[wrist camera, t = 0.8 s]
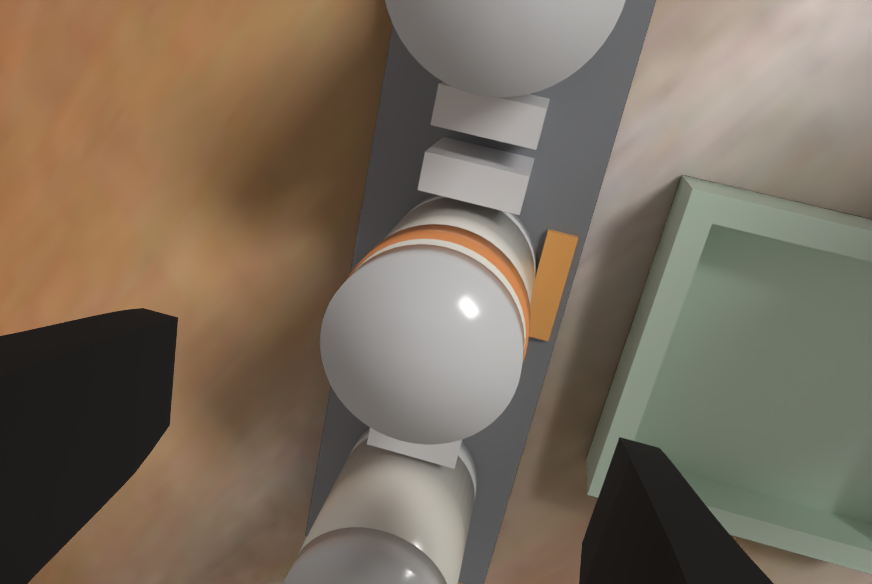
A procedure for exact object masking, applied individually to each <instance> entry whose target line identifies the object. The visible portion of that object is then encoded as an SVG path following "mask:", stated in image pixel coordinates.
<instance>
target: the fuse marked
mask: <svg viewBox="0 0 872 584" xmlns="http://www.w3.org/2000/svg"><path fill="white" fill-rule="evenodd" d="M535 274H536V254H535V249H534V245H533V242H532V239H531V236H530V234H529V232H528V230H527V229H526V227H525V225H524V224H523V222H522V221H521V220H520V218H519V217H518V216H517V215H516V214H513V213H509V212H505V211H501V210H497V209H493V208H489V207H485V206H481V205H477V204H472V203H468V202H464V201H460V200H456V199H452V198H448V197H444V196H440V195H433V196H431V197H429V198H427V199H425V200H423V201H421V202H420V203H419V204H417V205H416V206H414V207H413V208H412V209H411V210H410V211H409V212H408V213H407V214H406V215H405V216H404V217H403V219H402V220H401V221H400V222H399V223H398V224H397V225H396V226H395V227H394V228H393V230H392V231H391V232H390V233H389V234H388V235H387V236H386V237H385V238H384V239H383V240H382V241H381V242H379V243H378V244H377V245H376V246H375V247H374V248H373V249H372V250H370V251H369V253H368V254H367V255H366V256H365V257H364V258H363V259H362V260H361V261H360V262H359V263H358V264H357V266H356V267H355V268H354V269H353V271H352V272H351V273H350V275H349V276H348V278H347V280H346V281H345V282H344V283H343V285H342V286H341V287H340V288H339V289H338V291H337V292H336V293H335V295H334V296H333V298H332V300H331V301H330V303H329V305H328V307H327V310H326V312H325V315H324V317H323V322H322V326H321V333H320V353H321V358H322V364H323V367H324V370H325V373H326V376H327V378H328V380H329V383H330V385H331V387H332V389H333V390H334V392H335V393H336V395H337V396H338V398H339V399H340V400H341V402H342V403H343V404H344V405H345V407H346V408H347V409H348V410H349V411H350V412H351V413H352V414H353V415H354V416H355V417H357V418H358V419H359V420H360V421H362V422H363V423H364V424H366V425H367V426H369V427H371V428H372V429H374V430H375V431H377V432H379V433H382V434H384V435H386V436H388V437H391V438H394V439H397V440H400V441H404V442H409V443H415V444H424V445H429V444H444V443H451V442H455V441H458V440H462V439H465V438H467V437H470V436H472V435H474V434H476V433H478V432H480V431H481V430H483V429H485V428H486V427H487V426H489V425H490V424H491V423H493V422H494V421H495V420H496V419H497V418H498V417H499V416H500V415H501V414H502V413H503V411H504V410H505V408H506V407H507V406H508V404H509V403H510V401H511V399H512V397H513V396H514V394H515V391H516V389H517V386H518V383H519V379H520V374H521V369H522V364H523V361H524V358H525V355H526V350H527V345H528V338H529V331H530V320H531V311H530V308H531V301H532V294H533V287H534V280H535Z"/></svg>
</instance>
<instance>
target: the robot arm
mask: <svg viewBox="0 0 872 584" xmlns="http://www.w3.org/2000/svg"><path fill="white" fill-rule="evenodd" d="M177 323H178V318H177V317H174V316H170V315H166V314H162V313H159V312H155V311H151V310H148V309H144V308H140V309H130V310H123V311H117V312H111V313H106V314H101V315H96V316H92V317H87V318H82V319H78V320H73V321H69V322H64V323H60V324H55V325H51V326H46V327H42V328H37V329H33V330H28V331H23V332H19V333H14V334H9V335H4V336H0V584H28V582H29V581H30V580H31V579H32V578H33V577H34V576H35V575H36V574H37V573H38V572H39V571H40V570H41V569H42V568H43V567H44V566H45V565H46V564H47V563H48V562H49V561H50V560H51V559H52V558H53V557H54V556H55V555H56V554H57V553H58V551H59V550H60V549H61V548H62V547H63V546H64V545H65V544H66V543H67V542H68V541H69V540H70V539H71V538H72V537H73V536H74V535H75V534H76V533H77V532H78V531H79V530H80V529H81V528H82V527H83V526H84V525H85V524H86V523H87V522H88V521H89V520H90V519H91V518H92V517H93V516H94V515H95V514H96V513H97V512H98V511H99V510H100V509H101V508H102V507H103V506H104V505H105V504H106V503H107V502H108V501H109V499H110V498H111V497H112V496H113V495H114V494H115V493H116V492H117V491H118V490H119V489H120V488H121V487H122V486H123V485H124V484H125V483H126V482H127V481H128V480H129V479H130V478H131V476H132V475H133V474H134V473H135V472H136V471H137V469H138V468H139V467H140V465H141V464H142V463H143V462H144V460H145V459H146V458H147V456H148V455H149V454H150V452H151V451H152V450H153V448H154V447H155V445H156V444H157V442H158V441H159V440H160V438H161V437H162V435H163V434H164V432H165V431H166V430H167V428H168V427H169V425H170V412H171V400H172V387H173V374H174V362H175V349H176V336H177ZM579 584H773V583H772V581H771V580H770V579H769V578H768V577H767V576H766V575H765V574H764V573H763V572H762V571H761V569H760V568H759V567H758V566H757V565H756V564H755V563H754V562H753V561H752V560H751V559H750V557H749V556H748V555H747V554H746V553H745V552H744V551H743V549H742V548H741V547H740V546H739V545H738V544H737V543H736V541H735V540H734V539H733V538H732V537H731V535H730V534H729V533H728V532H727V531H726V529H725V528H724V527H723V526H722V525H721V523H720V522H719V521H718V520H717V519H716V517H715V516H714V515H713V514H712V512H711V511H710V510H709V509H708V507H707V506H706V505H705V504H704V502H703V501H702V500H701V499H700V497H699V496H698V495H697V493H696V492H695V491H694V490H693V488H692V487H691V486H690V484H689V483H688V482H687V481H686V479H685V478H684V477H683V476H682V474H681V473H680V472H679V470H678V469H677V468H676V467H675V465H674V464H673V463H672V462H671V460H670V459H669V458H668V457H667V456H666V454H665V453H664V452H663V451H662V450H661V449H660V448H658V447H655V446H651V445H647V444H643V443H640V442H636V441H632V440H629V439H625V438H621V437H619V440H618V443H617V446H616V448H615V451H614V454H613V457H612V460H611V463H610V466H609V468H608V471H607V474H606V477H605V480H604V483H603V485H602V488H601V491H600V494H599V497H598V500H597V503H596V505H595V508H594V511H593V514H592V517H591V520H590V522H589V525H588V528H587V531H586V534H585V537H584V540H583V542H582V554H581V567H580V582H579Z"/></svg>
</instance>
